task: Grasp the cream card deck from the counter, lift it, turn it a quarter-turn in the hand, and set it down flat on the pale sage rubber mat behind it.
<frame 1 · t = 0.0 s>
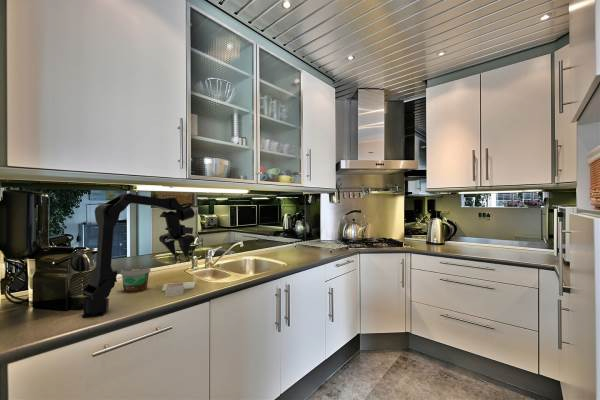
hand: (180, 255, 130), 15 cm above the countertop, tool pointing down, fingers open, 9 cm apart
food container: (133, 291, 125), on the countertop
sage mat: (179, 286, 132), on the countertop
card deck: (174, 294, 122), on the countertop
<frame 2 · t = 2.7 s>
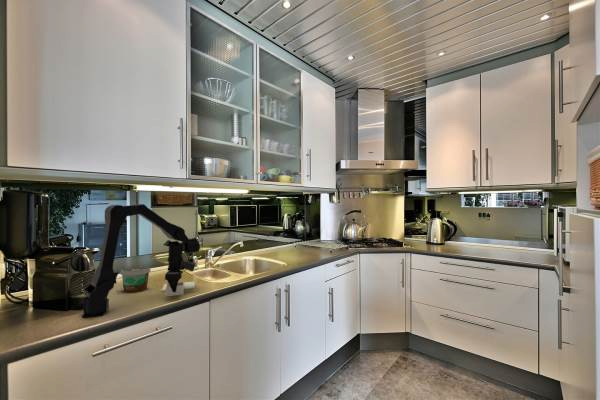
hand: (175, 290, 122), 2 cm above the countertop, tool pointing down, fingers closed on card deck, 5 cm apart
card deck: (174, 293, 122), on the countertop, touching gripper
everything else where it was.
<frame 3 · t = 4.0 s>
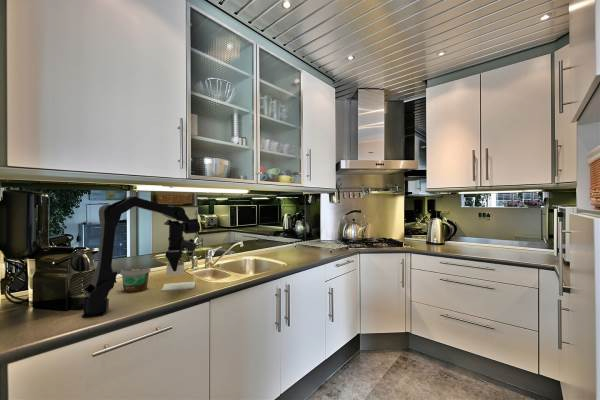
hand: (175, 269, 122), 11 cm above the countertop, tool pointing down, fingers closed on card deck, 5 cm apart
card deck: (175, 273, 122), point 9 cm above the countertop, touching gripper
everything else where it was.
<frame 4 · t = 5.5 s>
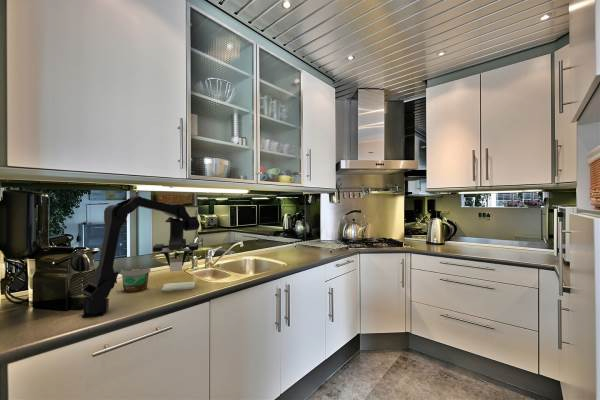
hand: (176, 265, 126), 11 cm above the countertop, tool pointing down, fingers closed on card deck, 5 cm apart
card deck: (176, 269, 126), point 10 cm above the countertop, touching gripper
everything else where it was.
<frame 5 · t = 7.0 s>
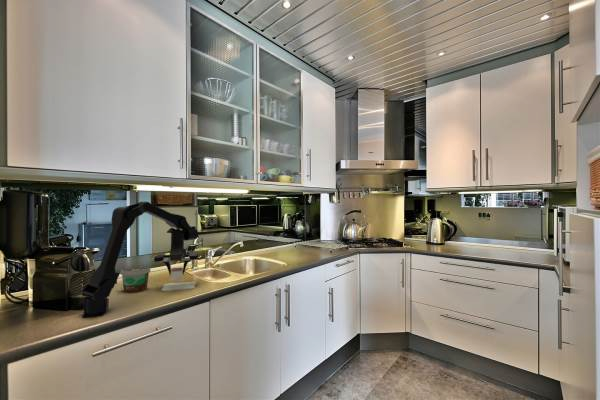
hand: (176, 274, 131), 6 cm above the countertop, tool pointing down, fingers closed on card deck, 5 cm apart
card deck: (176, 278, 131), point 5 cm above the countertop, touching gripper
everything else where it was.
when the fingers open (3 cm above the countertop, at t = 8.3 s): card deck drops 1 cm, resting on sage mat.
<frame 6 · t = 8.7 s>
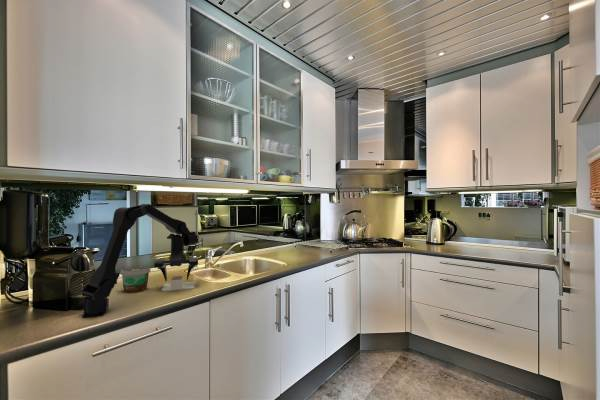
hand: (176, 280, 131), 3 cm above the countertop, tool pointing down, fingers open, 9 cm apart
card deck: (176, 286, 131), point 1 cm above the countertop, touching sage mat
everything else where it was.
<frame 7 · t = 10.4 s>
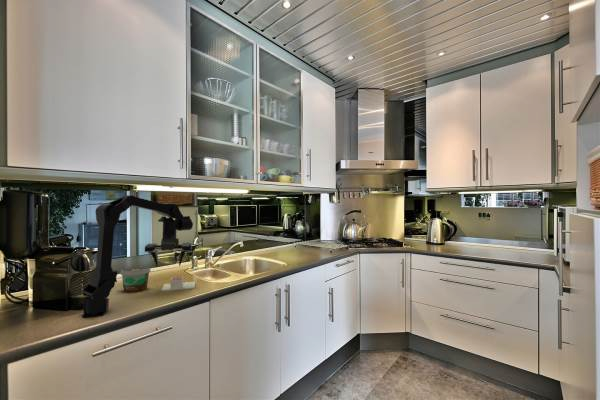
hand: (168, 266, 124), 12 cm above the countertop, tool pointing down, fingers open, 9 cm apart
nothing on the countertop moved.
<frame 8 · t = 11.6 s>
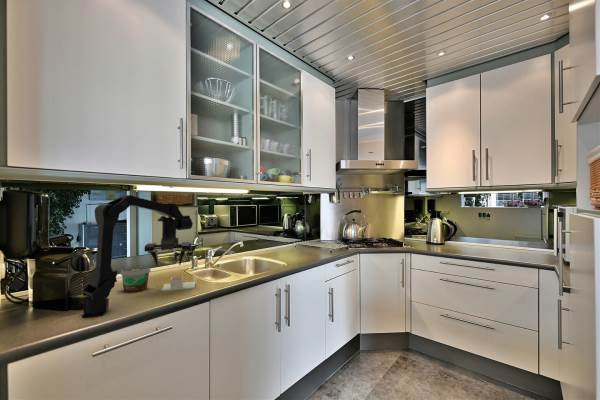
hand: (168, 265, 124), 12 cm above the countertop, tool pointing down, fingers open, 9 cm apart
nothing on the countertop moved.
at the end: card deck inside the target area (0.0 cm from its centre), point 0.6 cm above the countertop; card deck tilted 0°; the gripper is holding nothing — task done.
